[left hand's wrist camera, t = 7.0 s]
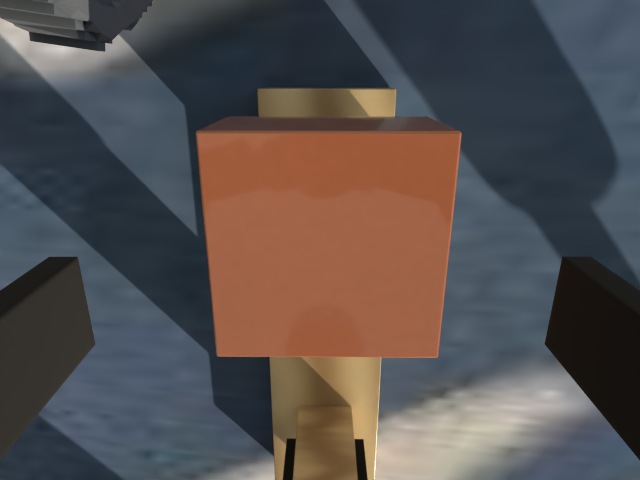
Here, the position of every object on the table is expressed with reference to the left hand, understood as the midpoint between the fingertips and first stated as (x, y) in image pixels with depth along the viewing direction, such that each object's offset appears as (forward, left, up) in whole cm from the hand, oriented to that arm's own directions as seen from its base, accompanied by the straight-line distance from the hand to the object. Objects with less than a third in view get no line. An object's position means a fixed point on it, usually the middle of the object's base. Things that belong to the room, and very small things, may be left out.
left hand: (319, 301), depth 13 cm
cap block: (0, 0, -8) cm, 8 cm away
